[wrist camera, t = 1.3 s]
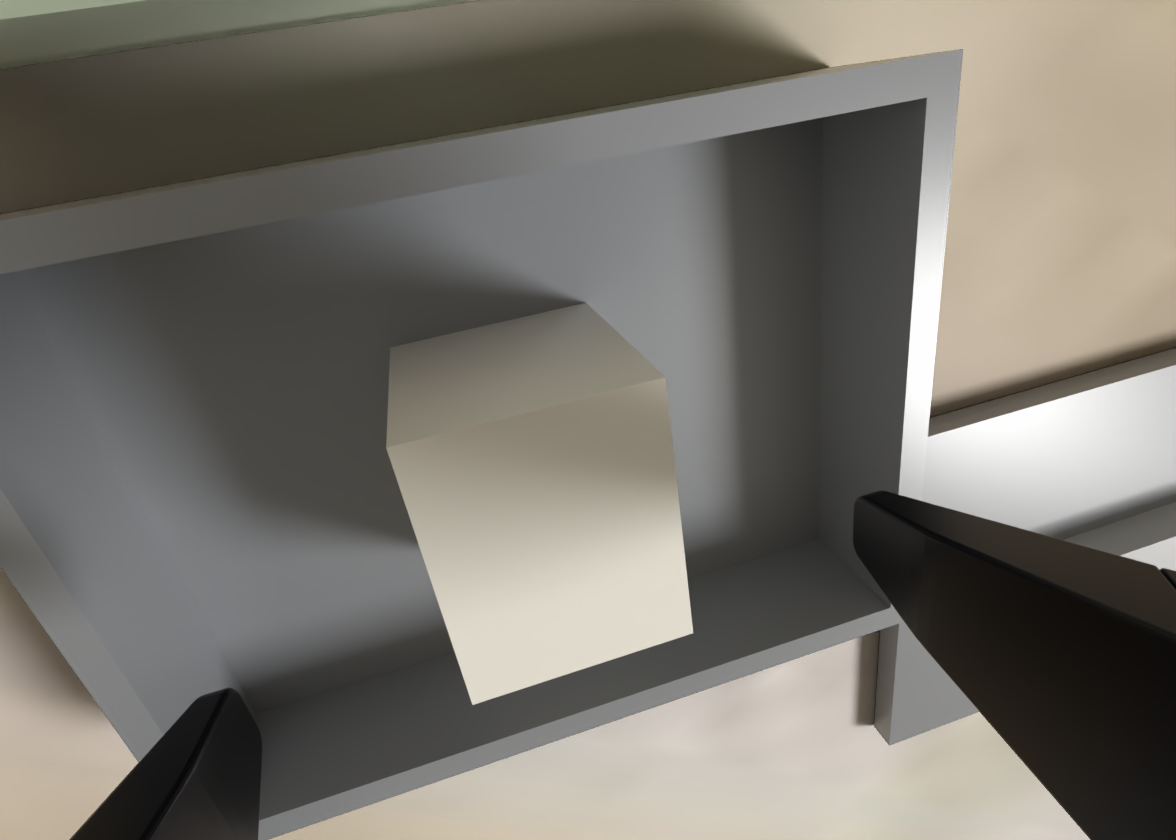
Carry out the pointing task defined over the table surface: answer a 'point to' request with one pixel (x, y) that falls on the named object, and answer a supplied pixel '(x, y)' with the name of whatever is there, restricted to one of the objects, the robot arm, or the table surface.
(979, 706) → the robot arm
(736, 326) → the bin
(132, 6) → the bin
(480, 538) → the cream block
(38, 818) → the table surface
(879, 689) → the bin lid
